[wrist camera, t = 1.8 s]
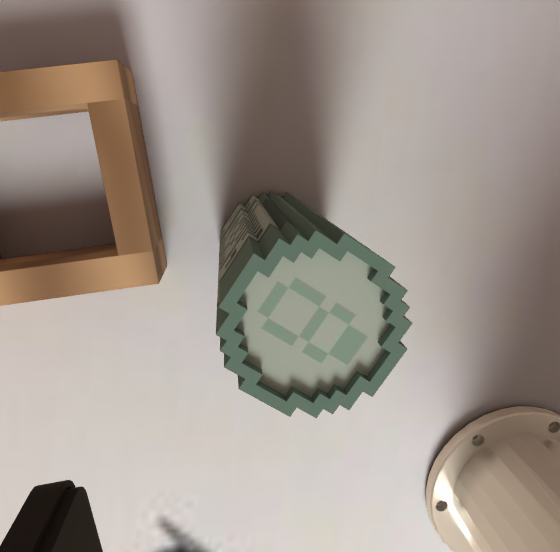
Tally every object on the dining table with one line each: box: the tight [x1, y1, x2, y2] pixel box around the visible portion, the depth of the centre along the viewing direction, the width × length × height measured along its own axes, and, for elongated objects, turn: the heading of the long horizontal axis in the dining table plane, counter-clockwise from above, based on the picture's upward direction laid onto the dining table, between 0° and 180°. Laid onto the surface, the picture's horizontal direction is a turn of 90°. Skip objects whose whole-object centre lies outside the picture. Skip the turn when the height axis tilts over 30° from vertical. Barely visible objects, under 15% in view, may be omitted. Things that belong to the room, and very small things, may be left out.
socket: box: [0, 60, 167, 306], centre depth 26 cm, size 11×11×4 cm
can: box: [216, 191, 412, 418], centre depth 23 cm, size 6×6×15 cm
